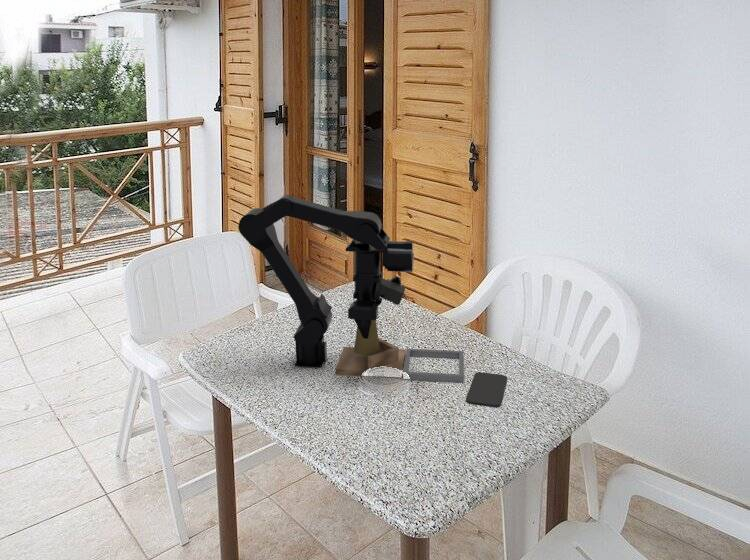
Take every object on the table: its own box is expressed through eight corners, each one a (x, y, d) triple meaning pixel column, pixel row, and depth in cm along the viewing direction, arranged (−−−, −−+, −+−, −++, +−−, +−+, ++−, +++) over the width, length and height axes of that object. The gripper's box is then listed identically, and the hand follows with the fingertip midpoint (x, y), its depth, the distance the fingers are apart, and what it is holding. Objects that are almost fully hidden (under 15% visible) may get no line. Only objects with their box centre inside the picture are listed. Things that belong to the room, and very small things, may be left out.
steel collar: (402, 379, 161) (402, 373, 160) (406, 354, 174) (406, 348, 173) (463, 382, 159) (464, 376, 159) (463, 356, 172) (463, 351, 172)
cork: (377, 356, 164) (377, 311, 160) (351, 354, 165) (351, 309, 161) (382, 346, 169) (382, 302, 166) (357, 343, 170) (357, 300, 167)
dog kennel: (335, 374, 163) (335, 356, 161) (343, 352, 175) (343, 335, 173) (401, 378, 161) (402, 359, 160) (405, 355, 173) (405, 338, 172)
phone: (508, 375, 162) (500, 405, 148) (507, 378, 162) (500, 409, 149) (475, 371, 164) (464, 400, 150) (475, 374, 164) (464, 404, 151)
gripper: (400, 284, 151) (398, 352, 156) (406, 259, 169) (404, 321, 174) (347, 282, 152) (347, 350, 157) (358, 257, 170) (358, 318, 175)
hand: (366, 334), depth 166 cm, fingers closed on cork, 4 cm apart
